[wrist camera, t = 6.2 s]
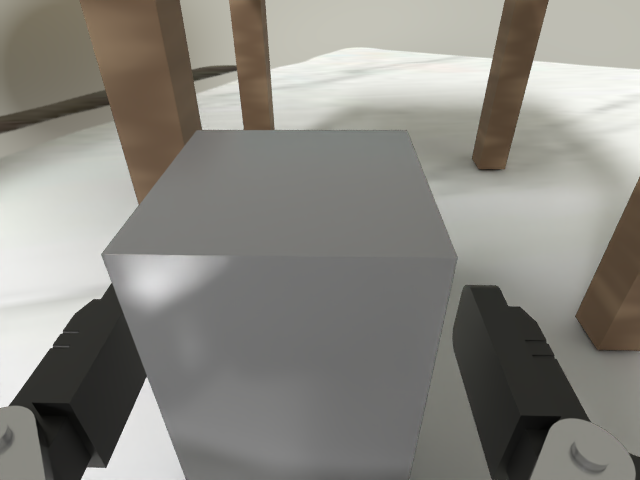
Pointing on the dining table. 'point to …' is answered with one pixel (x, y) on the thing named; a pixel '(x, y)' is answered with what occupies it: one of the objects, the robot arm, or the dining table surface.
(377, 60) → the dining table surface
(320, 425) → the grey rectangular block
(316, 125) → the dining table surface
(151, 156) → the trapdoor frame
